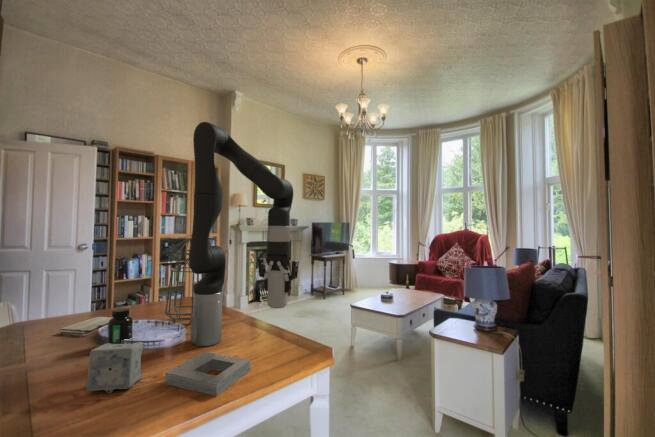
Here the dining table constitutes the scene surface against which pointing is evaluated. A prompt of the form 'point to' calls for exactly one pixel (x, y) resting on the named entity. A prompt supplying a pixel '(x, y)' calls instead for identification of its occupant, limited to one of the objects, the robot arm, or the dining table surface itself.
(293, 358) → the dining table surface
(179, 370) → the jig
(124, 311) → the supplement bottle
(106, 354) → the incense holder
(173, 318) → the geometric lantern
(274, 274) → the beverage can
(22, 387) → the dining table surface
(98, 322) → the washcloth
